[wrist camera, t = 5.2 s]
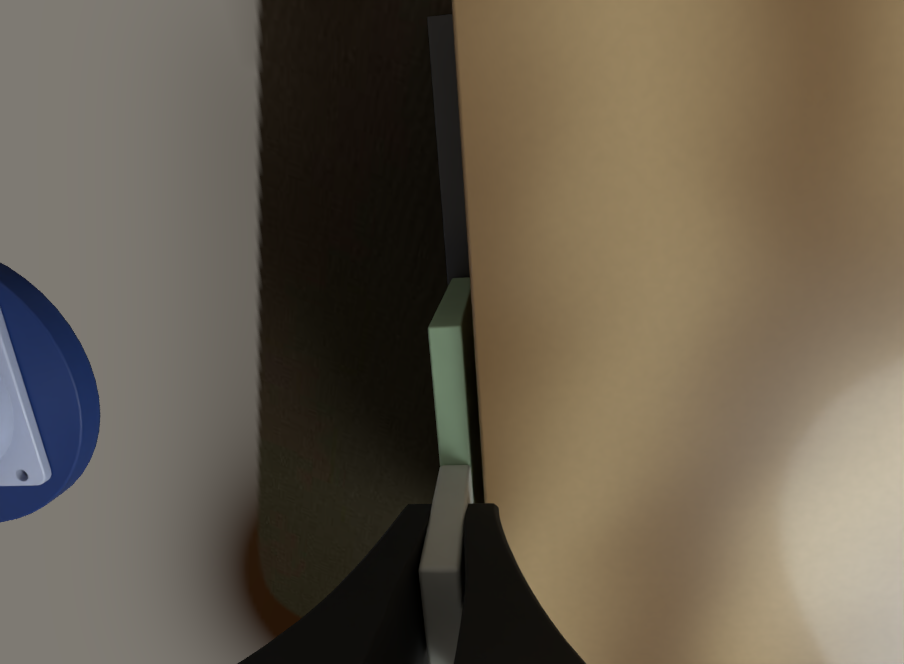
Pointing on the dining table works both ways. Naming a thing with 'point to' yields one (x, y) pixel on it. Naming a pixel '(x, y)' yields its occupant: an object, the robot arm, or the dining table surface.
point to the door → (451, 470)
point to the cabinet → (687, 315)
